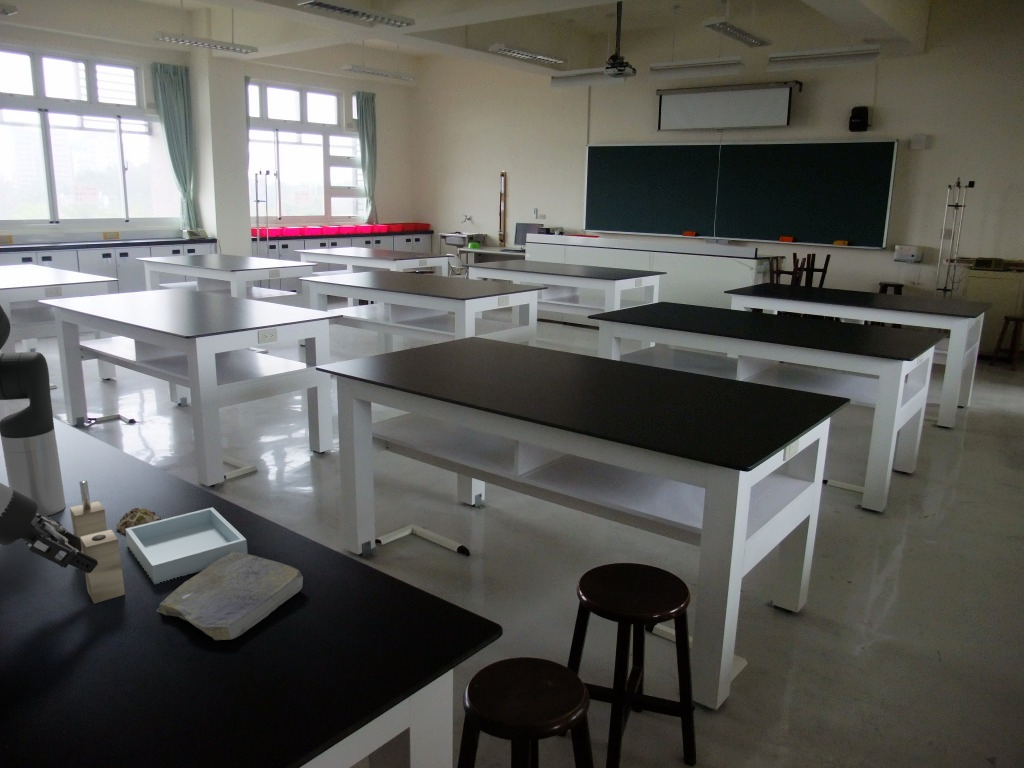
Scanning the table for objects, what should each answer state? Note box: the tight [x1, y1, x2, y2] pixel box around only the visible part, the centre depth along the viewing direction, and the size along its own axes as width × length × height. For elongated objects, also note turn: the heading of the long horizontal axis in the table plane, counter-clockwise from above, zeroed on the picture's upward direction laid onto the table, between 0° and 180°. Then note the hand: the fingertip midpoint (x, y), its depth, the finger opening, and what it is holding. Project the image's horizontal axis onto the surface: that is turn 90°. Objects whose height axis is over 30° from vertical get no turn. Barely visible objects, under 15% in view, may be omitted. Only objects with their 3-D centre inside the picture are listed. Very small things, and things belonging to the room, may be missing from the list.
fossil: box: [155, 551, 304, 641], centre depth 123 cm, size 20×5×17 cm
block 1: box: [69, 480, 108, 552], centre depth 134 cm, size 5×5×15 cm
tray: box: [125, 507, 249, 585], centre depth 139 cm, size 18×16×4 cm
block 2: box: [80, 529, 126, 604], centre depth 124 cm, size 5×5×10 cm
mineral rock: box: [115, 507, 163, 535], centre depth 149 cm, size 11×4×8 cm
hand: (88, 557), depth 122 cm, fingers open, 8 cm apart
